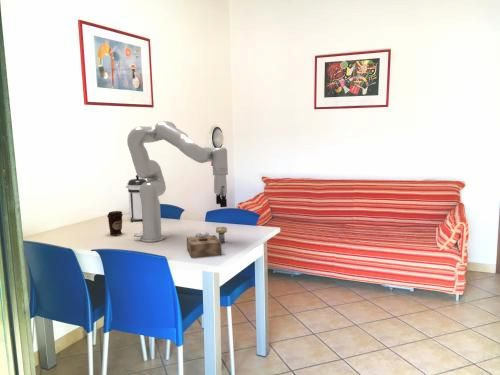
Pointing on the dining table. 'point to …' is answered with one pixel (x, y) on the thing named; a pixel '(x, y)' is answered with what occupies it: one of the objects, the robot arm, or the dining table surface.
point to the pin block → (203, 246)
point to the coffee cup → (115, 222)
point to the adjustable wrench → (202, 234)
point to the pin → (221, 233)
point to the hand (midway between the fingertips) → (221, 205)
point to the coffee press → (135, 198)
